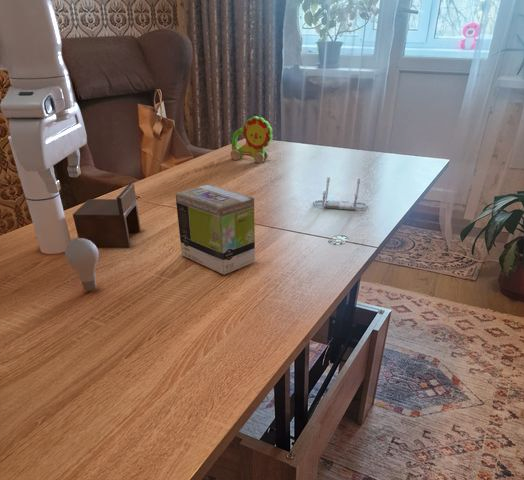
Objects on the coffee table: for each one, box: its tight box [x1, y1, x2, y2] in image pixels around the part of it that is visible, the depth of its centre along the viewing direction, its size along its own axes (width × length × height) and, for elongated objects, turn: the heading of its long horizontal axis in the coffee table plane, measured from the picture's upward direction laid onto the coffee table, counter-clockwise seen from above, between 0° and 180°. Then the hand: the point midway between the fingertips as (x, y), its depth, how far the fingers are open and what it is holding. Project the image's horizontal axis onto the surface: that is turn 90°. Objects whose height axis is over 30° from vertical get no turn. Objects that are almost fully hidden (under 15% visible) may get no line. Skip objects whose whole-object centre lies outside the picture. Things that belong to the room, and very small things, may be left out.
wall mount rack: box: [312, 176, 368, 211], centre depth 138 cm, size 16×14×6 cm
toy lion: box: [230, 115, 274, 164], centre depth 176 cm, size 16×5×15 cm, turn 66°
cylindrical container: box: [7, 135, 72, 255], centre depth 108 cm, size 7×7×25 cm
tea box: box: [175, 183, 256, 276], centre depth 105 cm, size 15×10×15 cm
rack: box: [72, 182, 142, 249], centre depth 116 cm, size 12×11×12 cm
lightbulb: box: [64, 237, 100, 292], centre depth 94 cm, size 6×6×11 cm
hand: (65, 183), depth 85 cm, fingers open, 8 cm apart
